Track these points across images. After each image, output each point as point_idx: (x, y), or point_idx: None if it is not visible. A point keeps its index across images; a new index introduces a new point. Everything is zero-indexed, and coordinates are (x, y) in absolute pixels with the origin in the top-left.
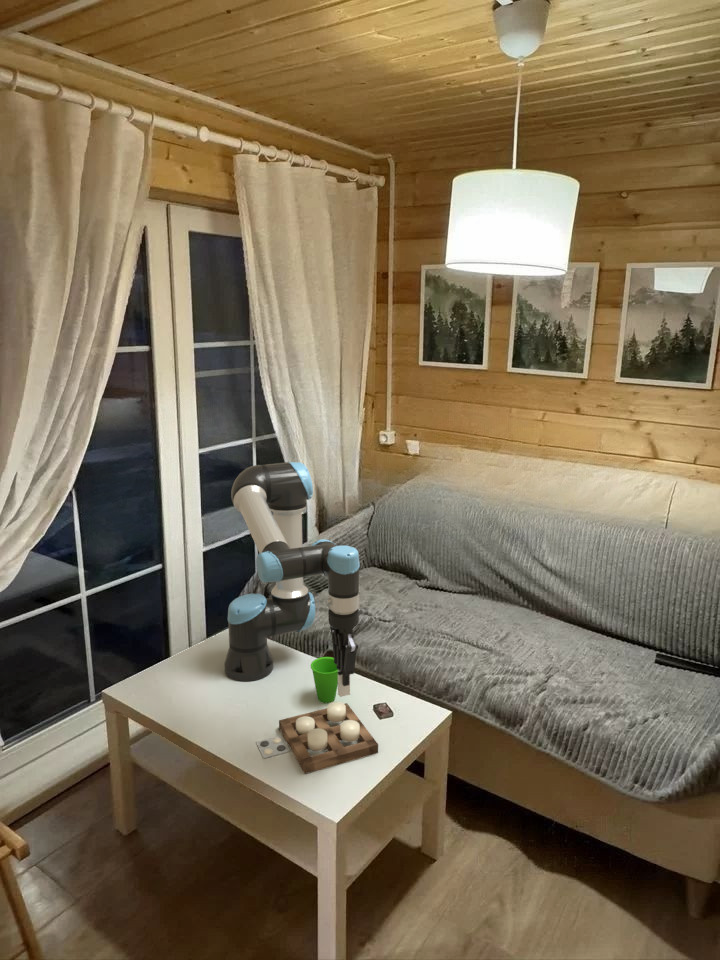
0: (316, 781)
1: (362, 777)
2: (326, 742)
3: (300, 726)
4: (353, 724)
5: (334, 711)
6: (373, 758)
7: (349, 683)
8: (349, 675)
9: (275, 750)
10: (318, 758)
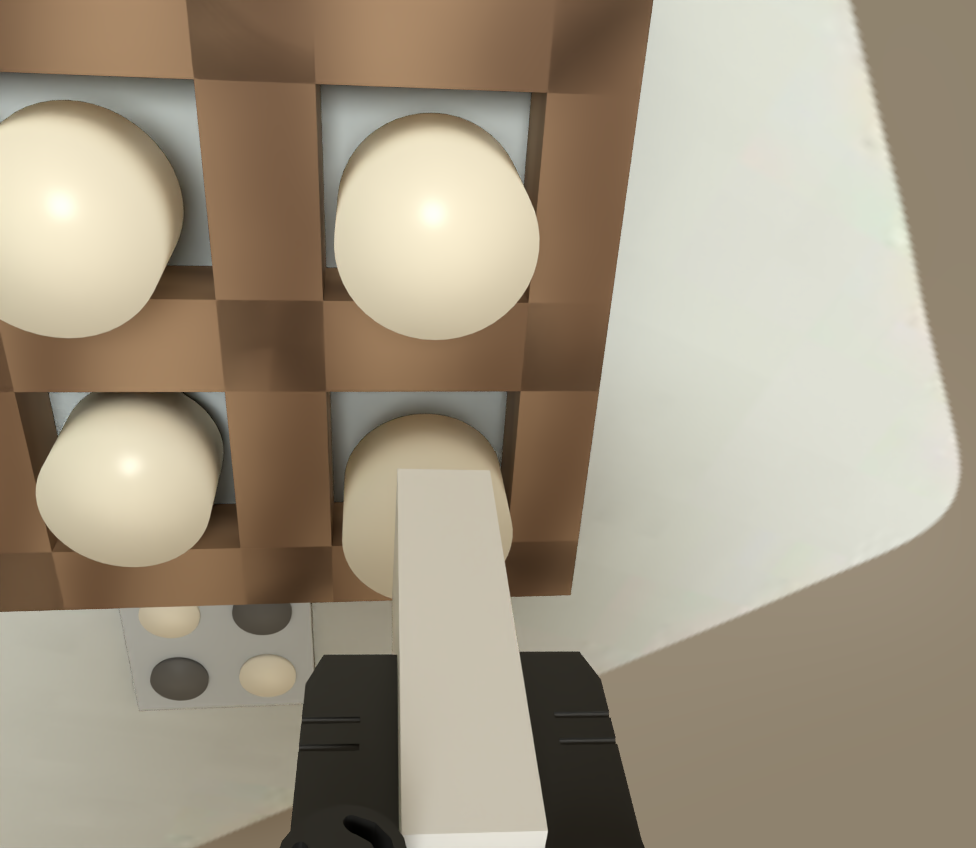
0: (654, 513)
1: (800, 246)
2: (487, 459)
3: (177, 548)
4: (433, 205)
5: (129, 292)
6: (670, 61)
7: (510, 612)
8: (535, 754)
9: (269, 640)
10: (552, 506)
